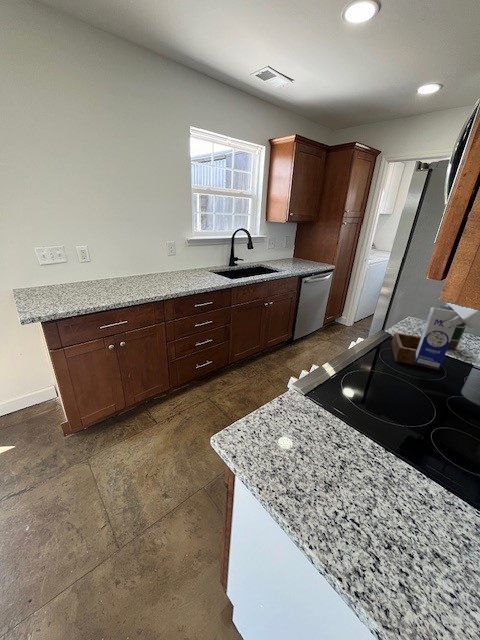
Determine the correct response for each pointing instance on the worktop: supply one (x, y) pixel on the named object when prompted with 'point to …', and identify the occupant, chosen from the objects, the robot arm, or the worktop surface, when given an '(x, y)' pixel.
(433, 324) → the milk carton
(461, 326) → the beer bottle
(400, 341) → the oak frame
